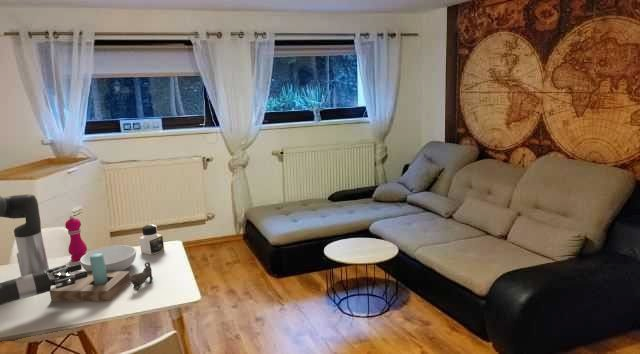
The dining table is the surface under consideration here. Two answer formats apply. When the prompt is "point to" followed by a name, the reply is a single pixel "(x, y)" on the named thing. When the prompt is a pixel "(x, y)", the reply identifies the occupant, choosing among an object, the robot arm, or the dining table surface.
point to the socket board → (92, 288)
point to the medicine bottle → (151, 240)
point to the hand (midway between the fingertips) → (84, 269)
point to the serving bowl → (112, 257)
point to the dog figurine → (141, 277)
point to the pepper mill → (75, 239)
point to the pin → (98, 269)
